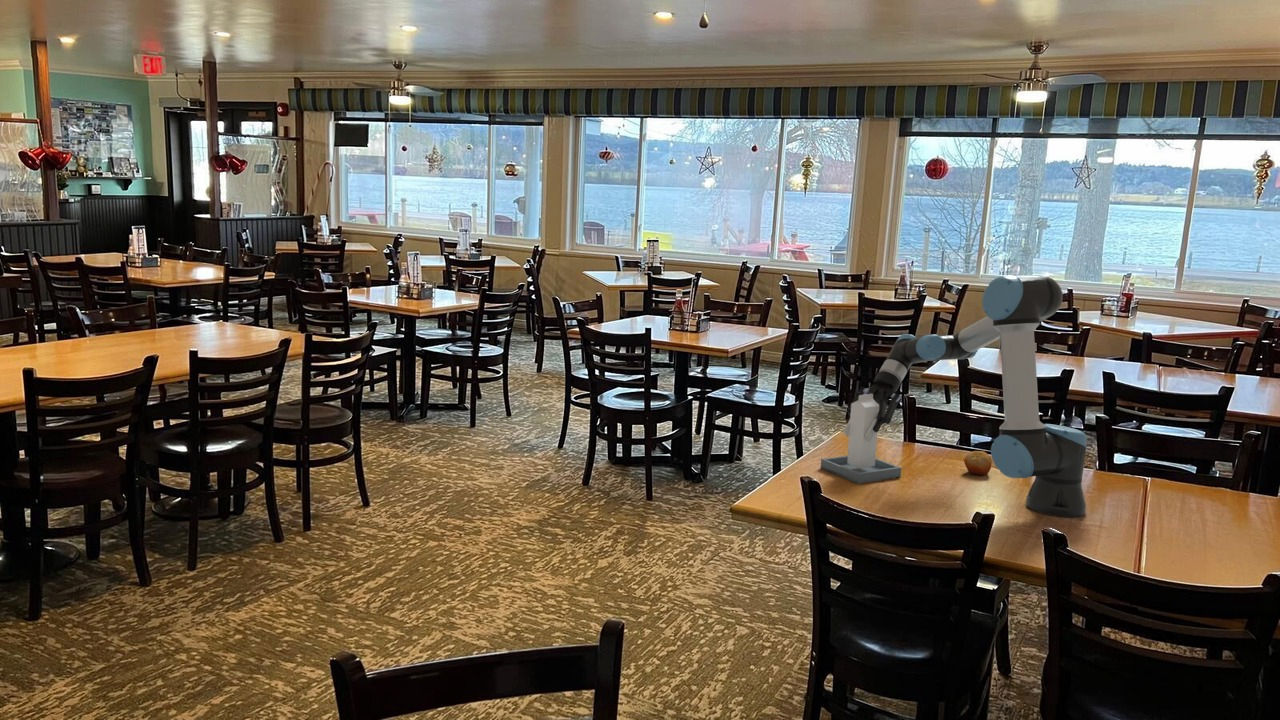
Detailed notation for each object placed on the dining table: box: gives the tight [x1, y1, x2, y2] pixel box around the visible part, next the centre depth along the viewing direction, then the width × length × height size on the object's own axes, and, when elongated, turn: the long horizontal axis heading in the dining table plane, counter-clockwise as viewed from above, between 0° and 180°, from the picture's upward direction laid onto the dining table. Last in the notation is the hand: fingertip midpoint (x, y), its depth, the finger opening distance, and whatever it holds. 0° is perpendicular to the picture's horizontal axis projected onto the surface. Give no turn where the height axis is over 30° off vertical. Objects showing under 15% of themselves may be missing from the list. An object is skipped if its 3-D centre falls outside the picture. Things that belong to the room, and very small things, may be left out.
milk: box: [847, 393, 879, 468], centre depth 285 cm, size 6×6×22 cm
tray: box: [820, 455, 902, 485], centre depth 287 cm, size 17×17×3 cm
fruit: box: [963, 450, 993, 476], centre depth 290 cm, size 8×8×8 cm
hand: (856, 436), depth 283 cm, fingers closed on milk, 7 cm apart
